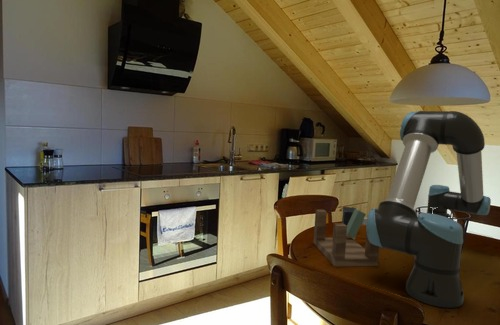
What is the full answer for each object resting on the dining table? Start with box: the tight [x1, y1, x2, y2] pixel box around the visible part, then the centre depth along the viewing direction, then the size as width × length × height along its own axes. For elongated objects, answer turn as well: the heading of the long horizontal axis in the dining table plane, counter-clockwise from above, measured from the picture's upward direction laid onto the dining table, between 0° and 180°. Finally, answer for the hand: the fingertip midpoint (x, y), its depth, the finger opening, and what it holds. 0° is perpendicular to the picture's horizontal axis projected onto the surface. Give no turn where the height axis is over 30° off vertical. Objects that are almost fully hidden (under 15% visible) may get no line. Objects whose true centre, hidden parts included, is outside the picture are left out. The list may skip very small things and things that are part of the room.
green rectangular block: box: [346, 208, 367, 241], centre depth 146 cm, size 4×4×12 cm
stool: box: [313, 208, 380, 267], centre depth 135 cm, size 24×16×14 cm, turn 7°
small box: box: [341, 206, 357, 226], centre depth 166 cm, size 11×6×10 cm, turn 168°
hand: (361, 221), depth 146 cm, fingers closed
